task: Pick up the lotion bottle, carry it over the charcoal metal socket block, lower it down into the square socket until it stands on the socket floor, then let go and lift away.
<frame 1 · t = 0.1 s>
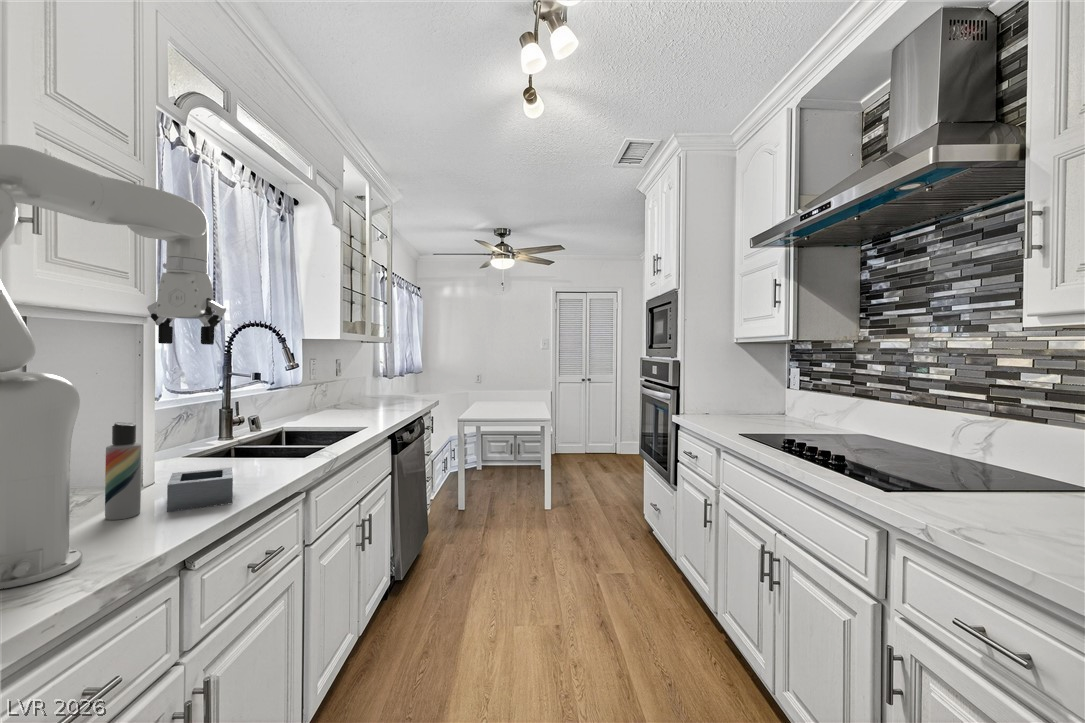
hand: (186, 343, 107), 37 cm above the worktop, tool pointing down, fingers open, 9 cm apart
socket block: (201, 500, 112), on the worktop
lotion bottle: (122, 516, 100), on the worktop
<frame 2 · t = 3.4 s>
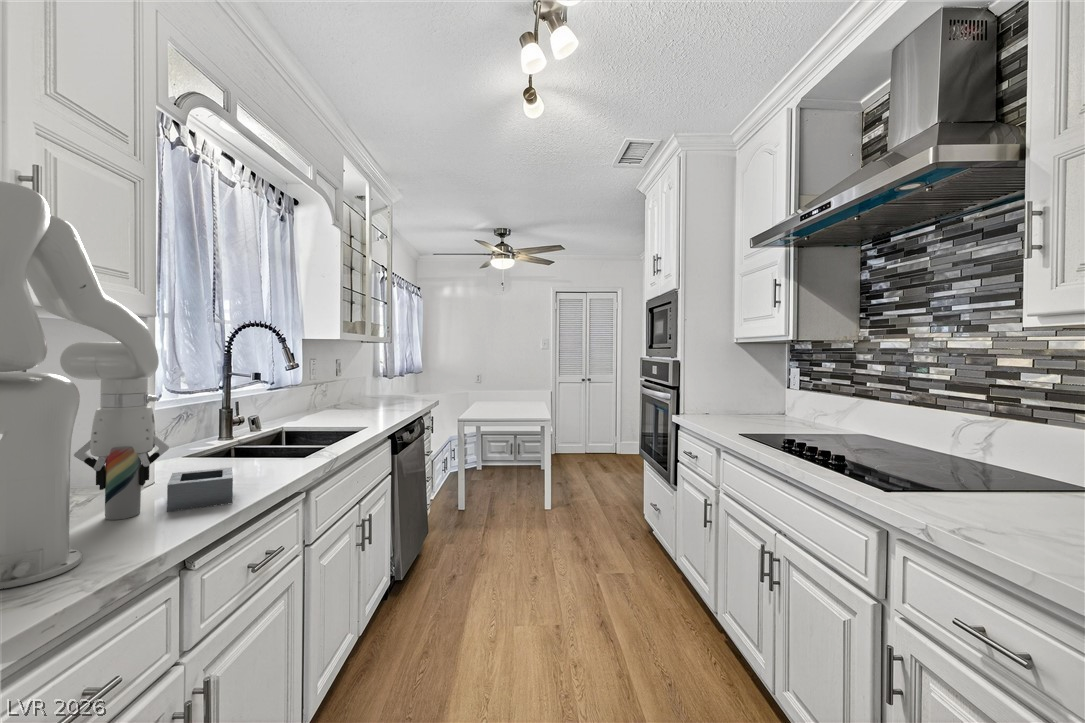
hand: (123, 485, 100), 7 cm above the worktop, tool pointing down, fingers closed on lotion bottle, 5 cm apart
lotion bottle: (122, 516, 100), on the worktop, touching gripper
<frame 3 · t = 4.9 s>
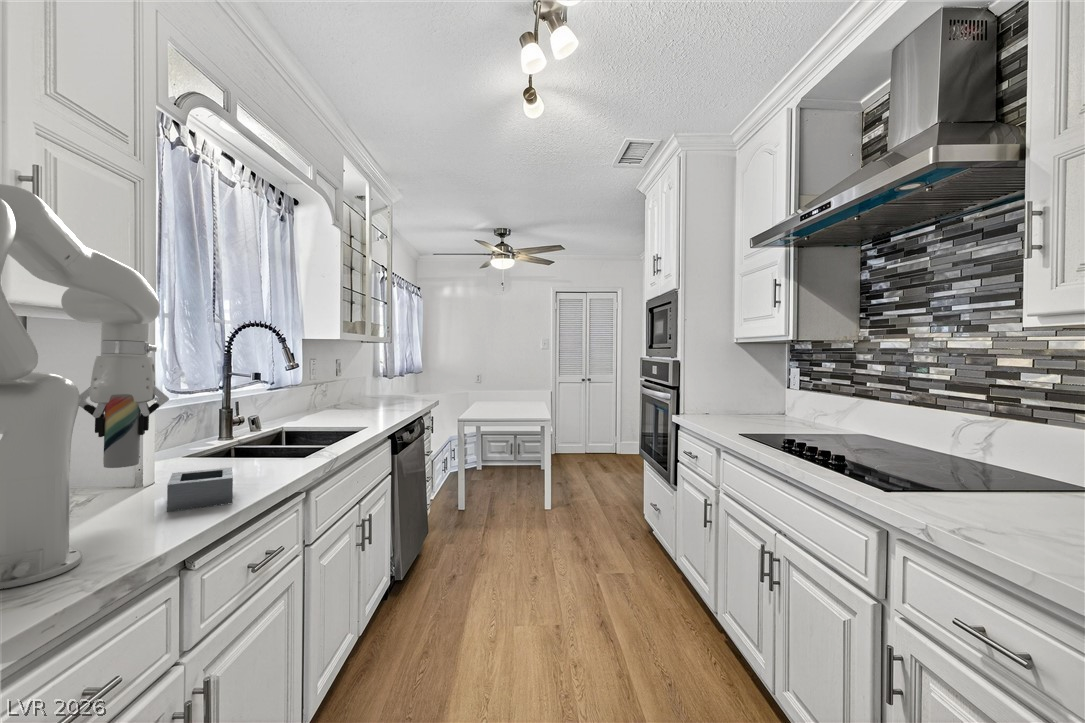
hand: (122, 434, 100), 18 cm above the worktop, tool pointing down, fingers closed on lotion bottle, 5 cm apart
lotion bottle: (121, 466, 99), point 11 cm above the worktop, touching gripper
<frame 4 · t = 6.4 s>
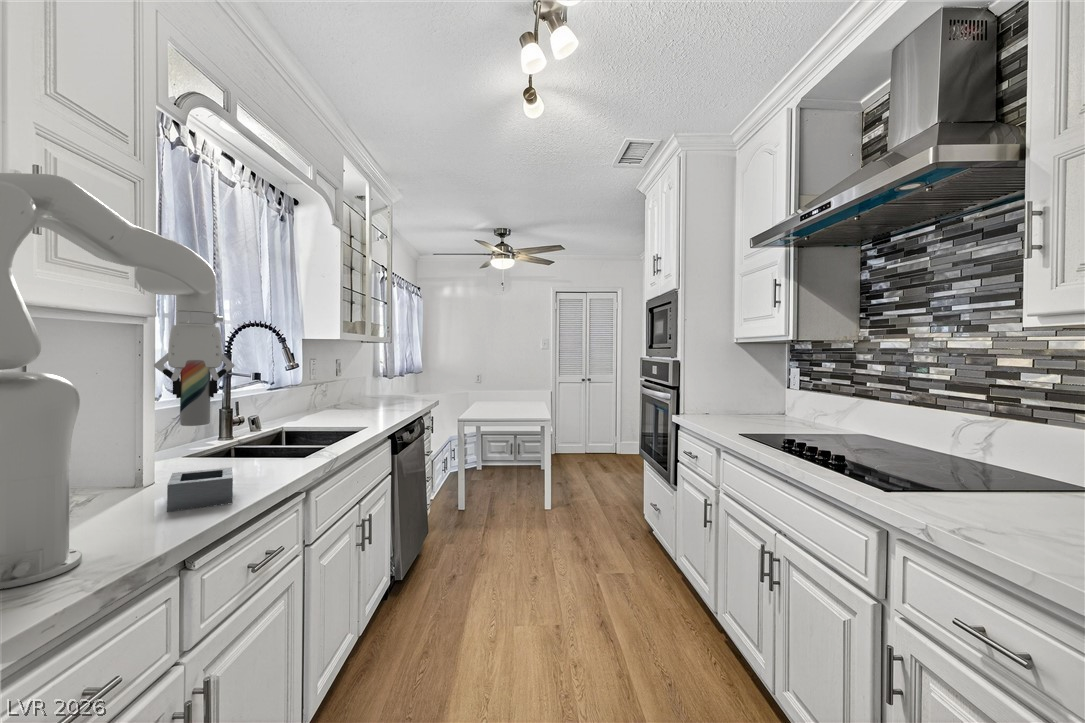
hand: (195, 396, 110), 25 cm above the worktop, tool pointing down, fingers closed on lotion bottle, 5 cm apart
lotion bottle: (195, 425, 110), point 18 cm above the worktop, touching gripper
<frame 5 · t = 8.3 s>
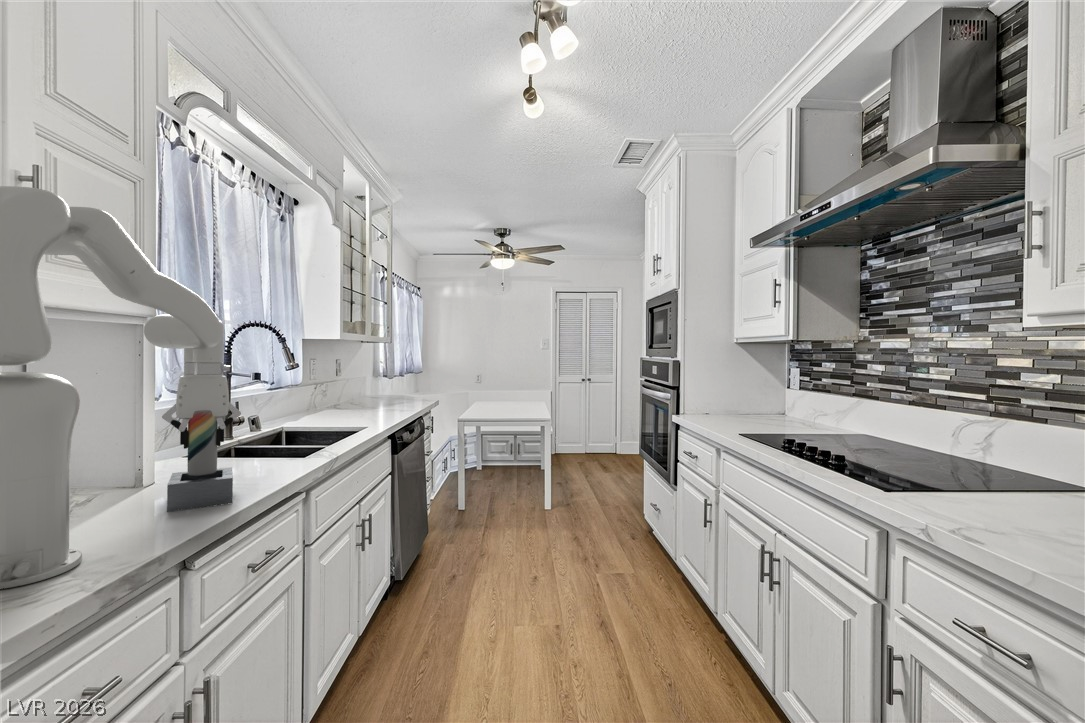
hand: (202, 445, 112), 13 cm above the worktop, tool pointing down, fingers closed on lotion bottle, 5 cm apart
lotion bottle: (202, 473, 112), point 6 cm above the worktop, touching gripper
when the fingers open (9 cm above the worktop, at t = 9.8 s): lotion bottle drops 1 cm, resting on socket block.
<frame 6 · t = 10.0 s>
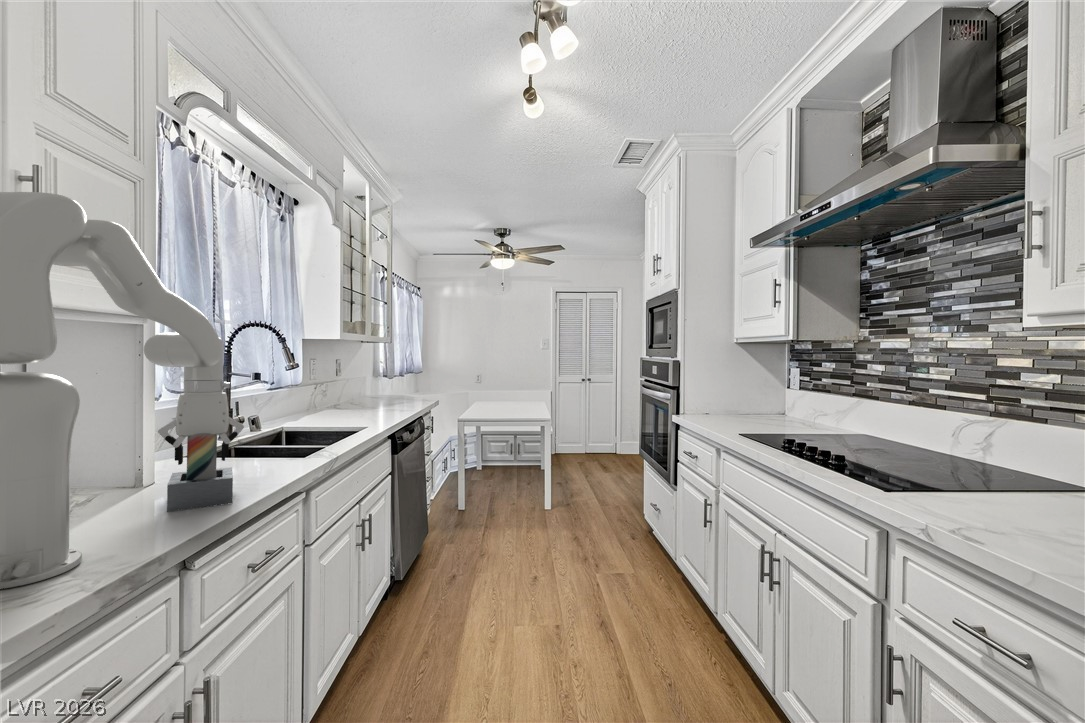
hand: (202, 461, 112), 9 cm above the worktop, tool pointing down, fingers open, 7 cm apart
lotion bottle: (201, 497, 111), point 1 cm above the worktop, touching socket block
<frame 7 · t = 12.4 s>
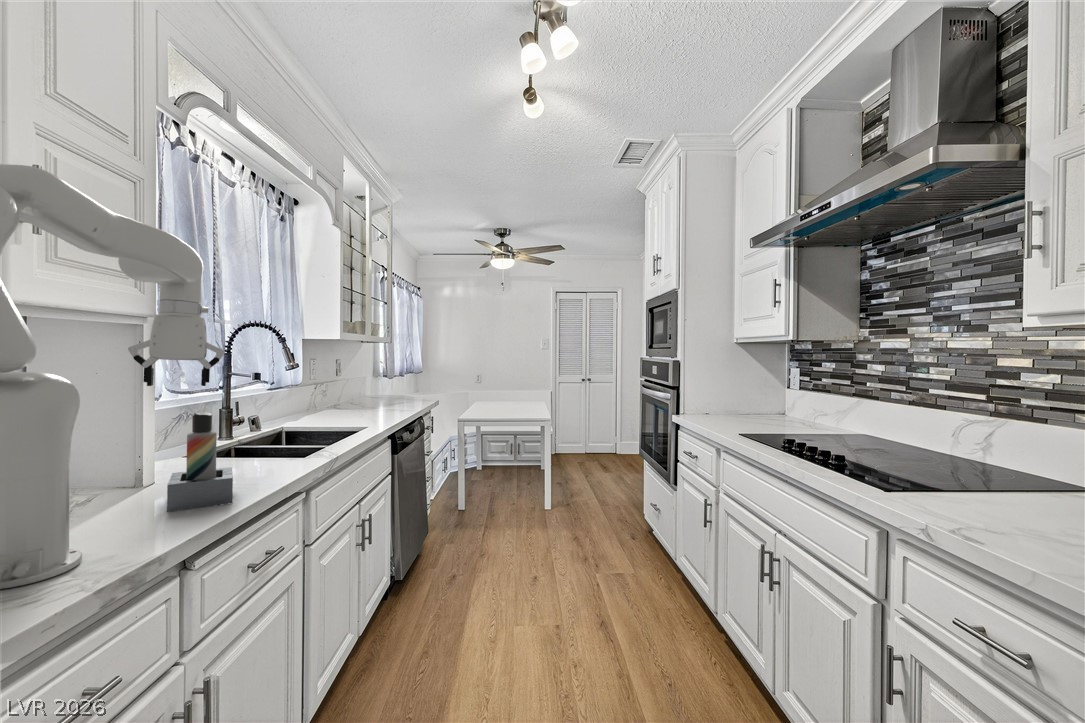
hand: (177, 385, 106), 28 cm above the worktop, tool pointing down, fingers open, 9 cm apart
nothing on the worktop moved.
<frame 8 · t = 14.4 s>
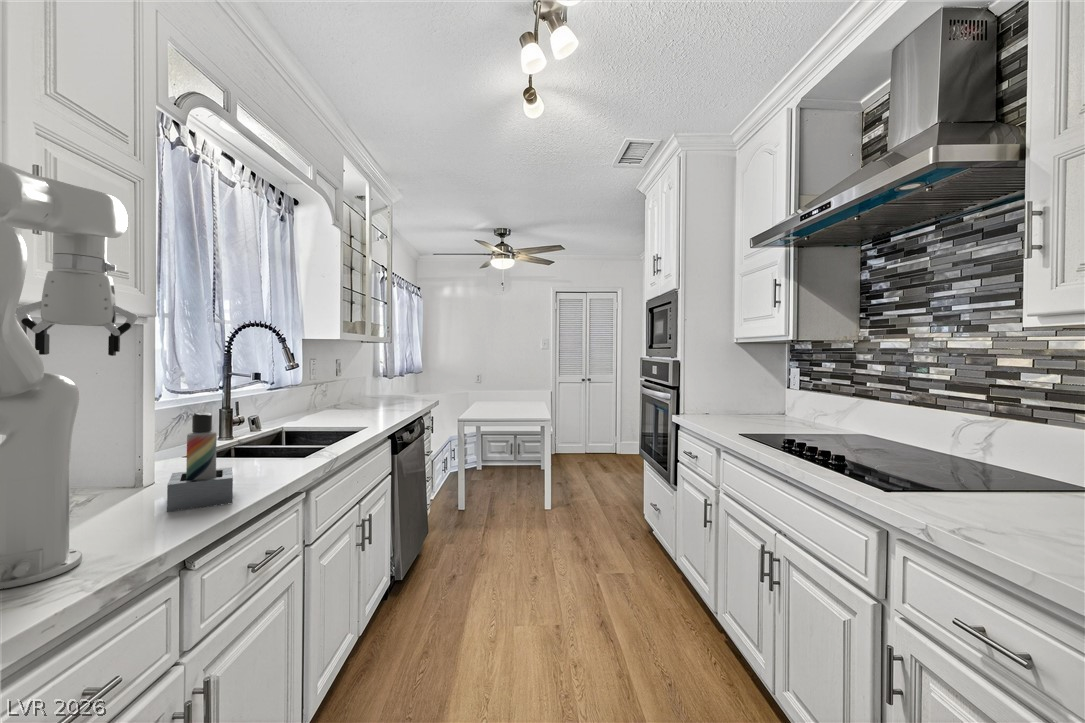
hand: (79, 355, 92), 34 cm above the worktop, tool pointing down, fingers open, 9 cm apart
nothing on the worktop moved.
at the end: lotion bottle 0.2 cm off-centre on the socket block, point 0.8 cm above the socket block's base; lotion bottle tilted 0°; the gripper is holding nothing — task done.
